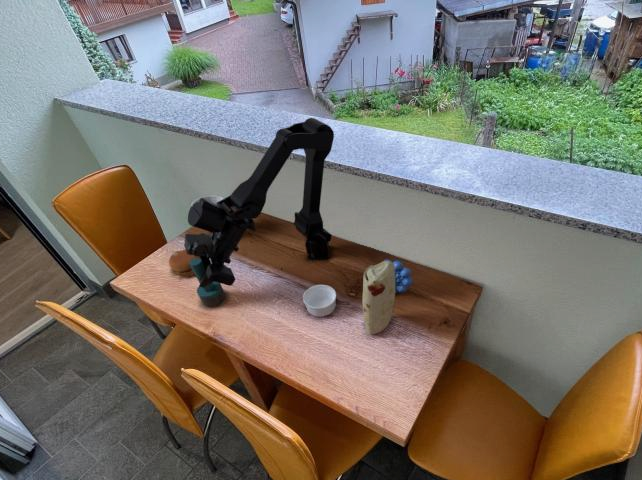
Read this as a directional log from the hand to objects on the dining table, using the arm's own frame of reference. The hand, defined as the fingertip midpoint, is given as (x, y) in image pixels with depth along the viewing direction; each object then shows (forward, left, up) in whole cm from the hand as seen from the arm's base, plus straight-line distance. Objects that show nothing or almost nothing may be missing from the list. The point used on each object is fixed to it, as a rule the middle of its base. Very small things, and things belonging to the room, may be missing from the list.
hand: (200, 283), depth 92 cm
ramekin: (-32, +1, -7) cm, 33 cm away
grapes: (-52, -6, -7) cm, 53 cm away
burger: (+12, -14, -7) cm, 20 cm away
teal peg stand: (-1, -1, -7) cm, 7 cm away
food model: (-48, +7, -7) cm, 49 cm away
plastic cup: (+8, -32, -7) cm, 34 cm away
